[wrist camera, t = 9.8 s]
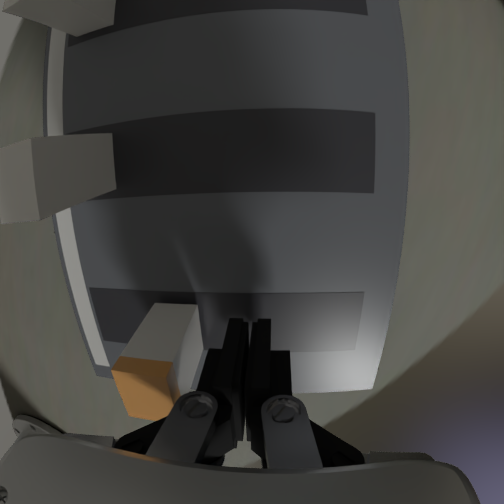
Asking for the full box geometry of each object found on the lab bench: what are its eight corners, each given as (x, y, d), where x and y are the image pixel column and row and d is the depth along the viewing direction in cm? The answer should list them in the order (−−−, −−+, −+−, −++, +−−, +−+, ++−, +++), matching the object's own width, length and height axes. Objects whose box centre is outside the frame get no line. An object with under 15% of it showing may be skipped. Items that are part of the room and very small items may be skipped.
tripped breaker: (203, 348, 14) (179, 424, 10) (163, 345, 14) (129, 416, 10) (197, 304, 13) (166, 377, 9) (154, 302, 13) (110, 370, 9)
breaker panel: (362, 360, 17) (393, 462, 10) (112, 352, 18) (59, 434, 11) (367, -52, 9) (412, -131, 2) (82, -22, 10) (3, -66, 3)
